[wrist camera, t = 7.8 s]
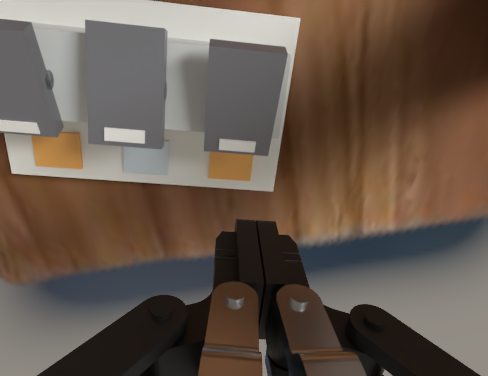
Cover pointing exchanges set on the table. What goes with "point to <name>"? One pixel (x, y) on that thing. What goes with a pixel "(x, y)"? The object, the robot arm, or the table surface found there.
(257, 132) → the rocker
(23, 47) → the block
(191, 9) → the switch unit
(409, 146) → the table surface
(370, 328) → the robot arm
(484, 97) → the table surface
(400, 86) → the table surface
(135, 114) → the rocker middle
